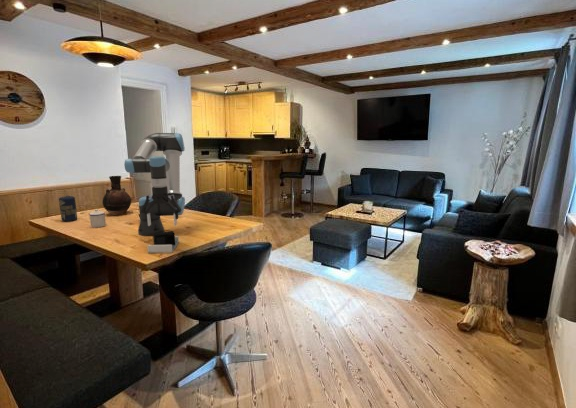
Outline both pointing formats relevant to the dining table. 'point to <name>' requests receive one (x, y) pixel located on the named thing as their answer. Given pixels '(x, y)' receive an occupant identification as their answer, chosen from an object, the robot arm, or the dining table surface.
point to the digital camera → (164, 238)
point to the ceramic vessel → (116, 198)
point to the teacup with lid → (97, 218)
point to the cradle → (163, 247)
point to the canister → (68, 208)
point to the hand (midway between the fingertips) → (162, 225)
